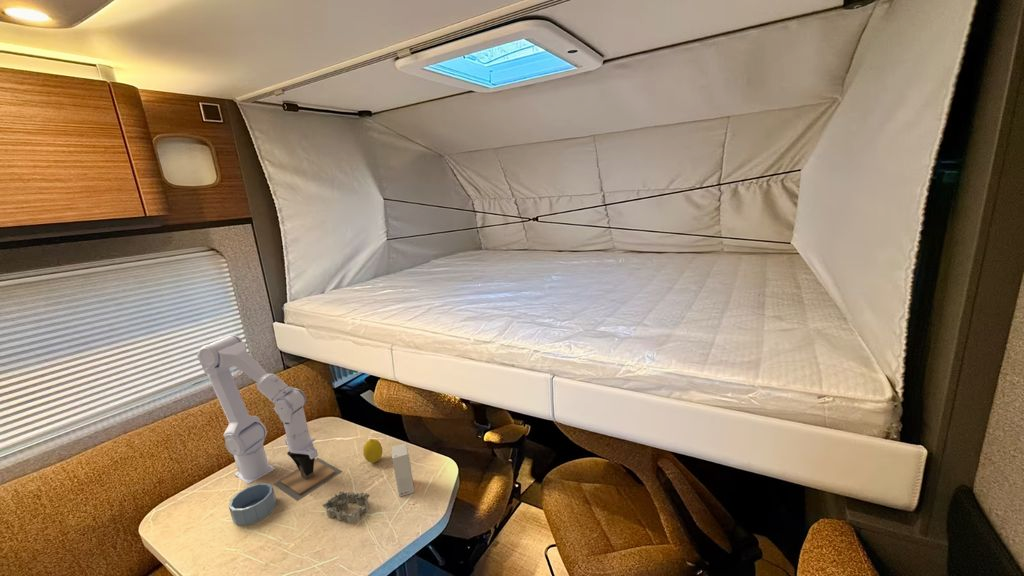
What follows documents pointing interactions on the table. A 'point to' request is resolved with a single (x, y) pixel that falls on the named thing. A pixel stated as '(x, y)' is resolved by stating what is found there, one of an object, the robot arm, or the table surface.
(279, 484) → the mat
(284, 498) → the table surface
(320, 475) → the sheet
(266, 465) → the robot arm
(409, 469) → the skincare box
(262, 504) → the bowl
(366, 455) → the lemon
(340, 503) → the grey lumpy curved piece
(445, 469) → the table surface
